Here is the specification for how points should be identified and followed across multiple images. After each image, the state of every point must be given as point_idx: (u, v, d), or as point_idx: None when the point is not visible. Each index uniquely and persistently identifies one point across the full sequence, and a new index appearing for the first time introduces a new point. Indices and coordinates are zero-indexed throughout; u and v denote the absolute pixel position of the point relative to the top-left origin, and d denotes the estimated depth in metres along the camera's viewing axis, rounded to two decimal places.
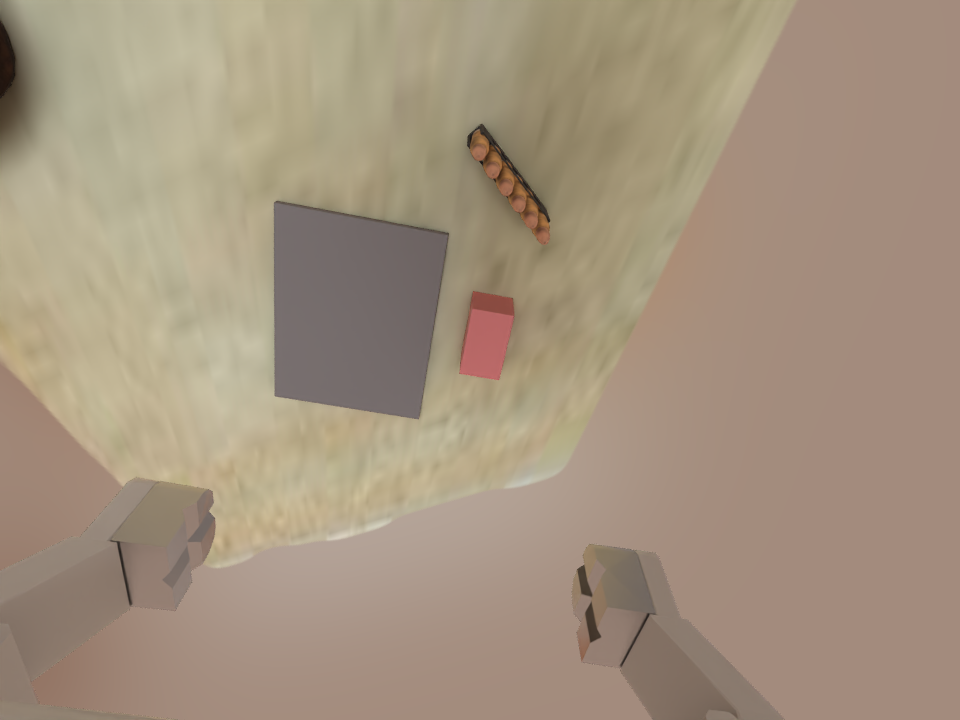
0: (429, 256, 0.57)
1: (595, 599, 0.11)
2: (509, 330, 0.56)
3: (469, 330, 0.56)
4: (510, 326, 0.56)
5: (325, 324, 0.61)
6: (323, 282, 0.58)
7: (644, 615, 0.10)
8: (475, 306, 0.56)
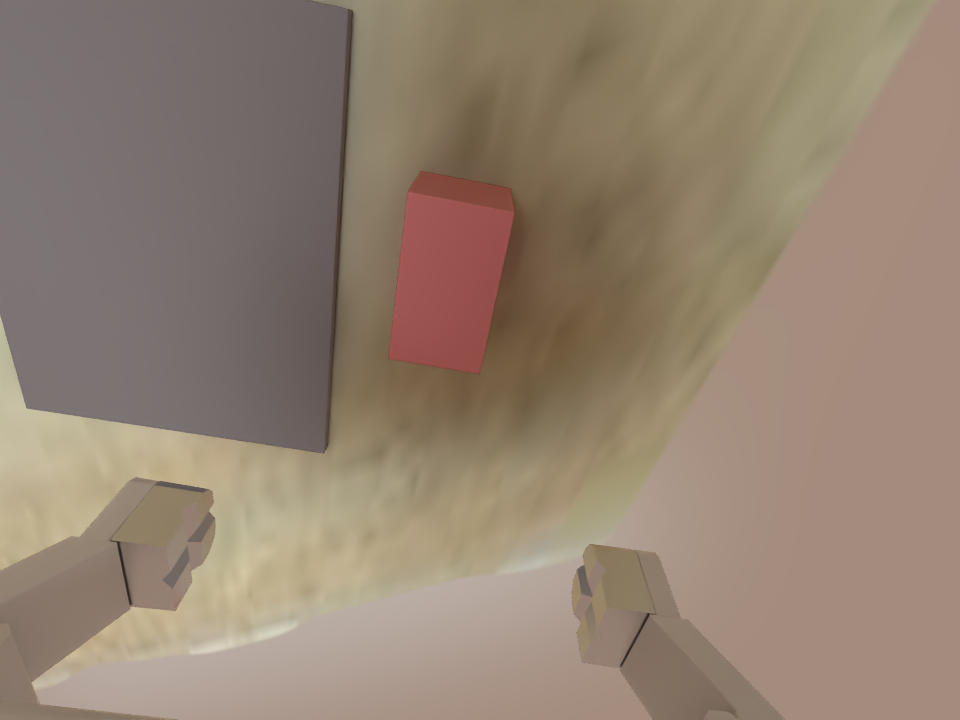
0: (307, 72, 0.23)
1: (595, 599, 0.11)
2: (502, 251, 0.23)
3: (404, 251, 0.23)
4: (505, 240, 0.23)
5: (94, 250, 0.27)
6: (66, 145, 0.25)
7: (644, 615, 0.10)
8: (417, 190, 0.22)
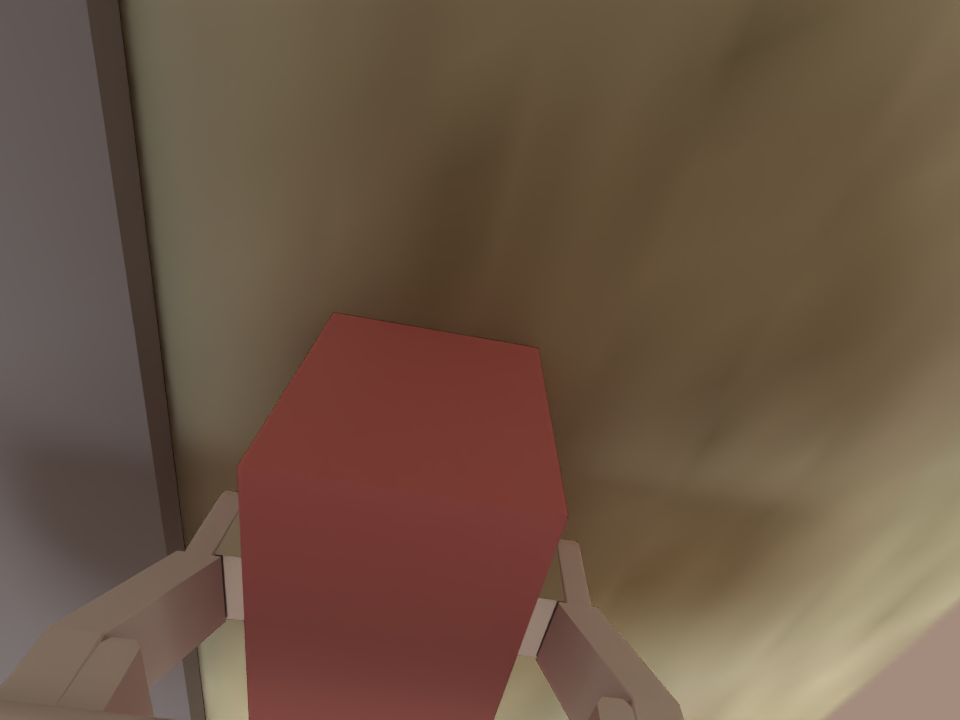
0: (1, 88, 0.09)
1: None
2: (529, 595, 0.08)
3: (254, 592, 0.08)
4: (536, 574, 0.08)
5: None
6: None
7: (554, 603, 0.10)
8: (277, 443, 0.08)
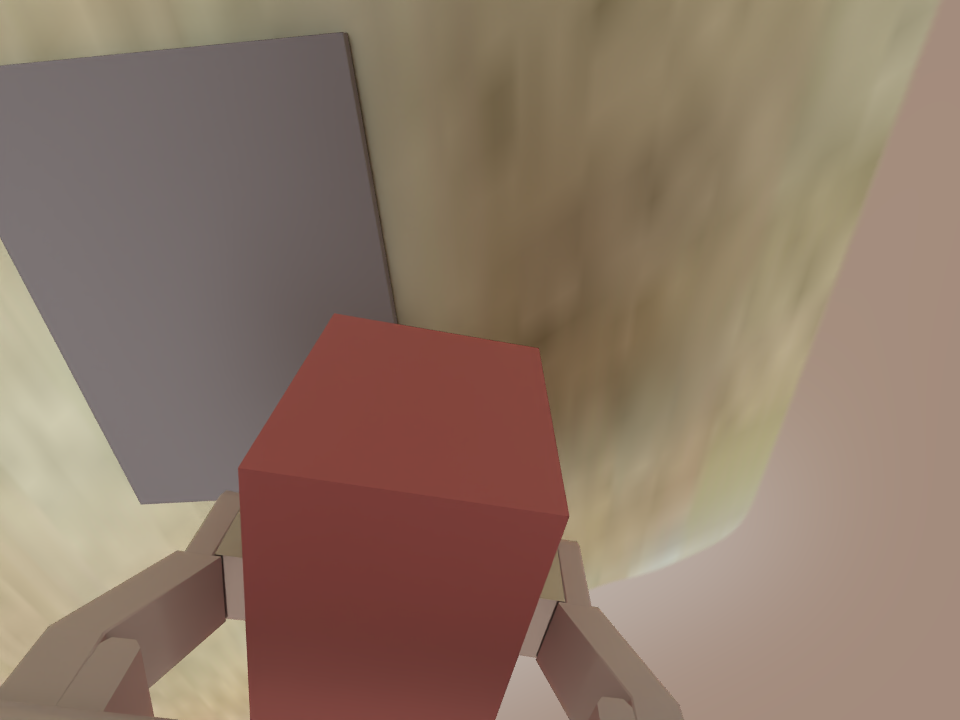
0: (318, 109, 0.22)
1: None
2: (530, 595, 0.08)
3: (255, 593, 0.08)
4: (537, 574, 0.08)
5: (164, 341, 0.28)
6: (116, 247, 0.25)
7: (554, 603, 0.10)
8: (278, 443, 0.08)
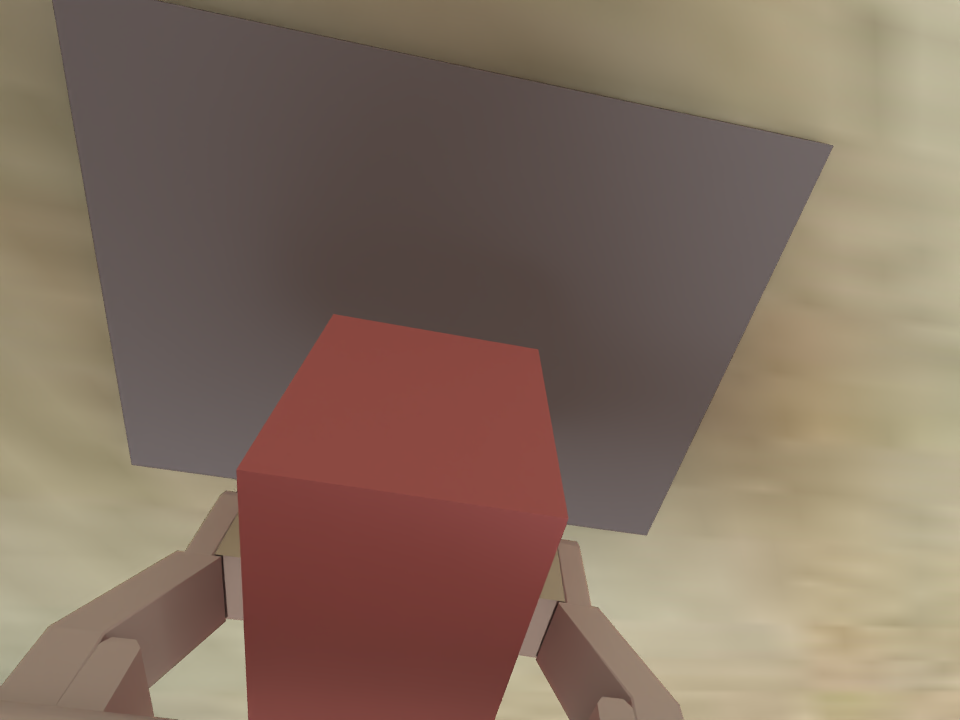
0: (152, 61, 0.16)
1: None
2: (529, 597, 0.08)
3: (253, 595, 0.08)
4: (537, 577, 0.08)
5: None
6: None
7: (554, 603, 0.10)
8: (277, 444, 0.08)
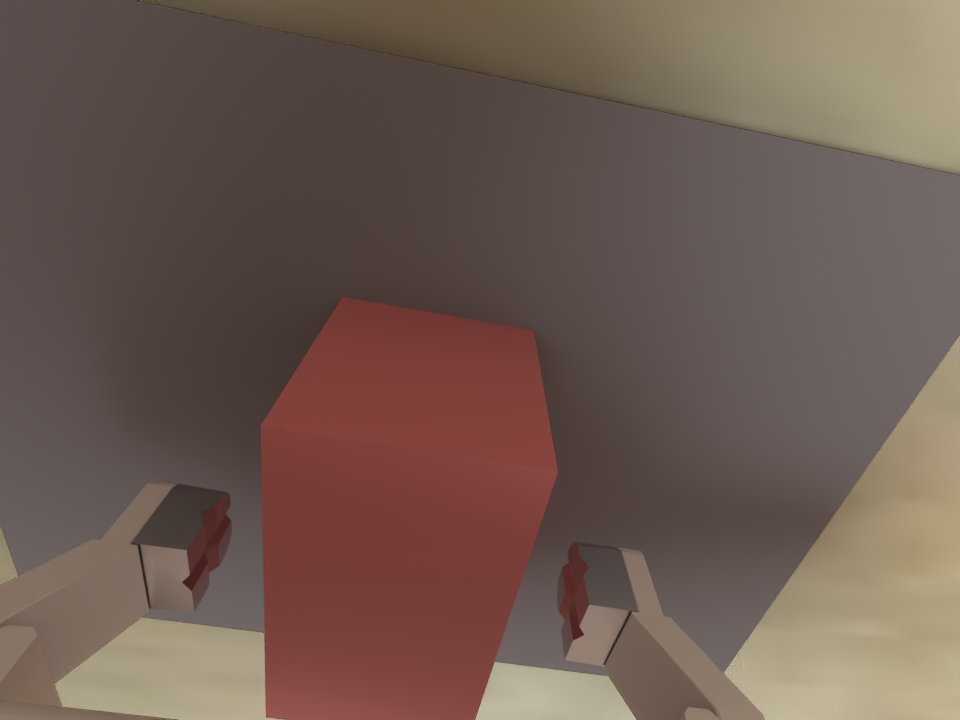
0: None
1: (578, 597, 0.10)
2: (523, 547, 0.09)
3: (273, 546, 0.09)
4: (530, 527, 0.09)
5: None
6: None
7: (626, 613, 0.10)
8: (296, 406, 0.08)
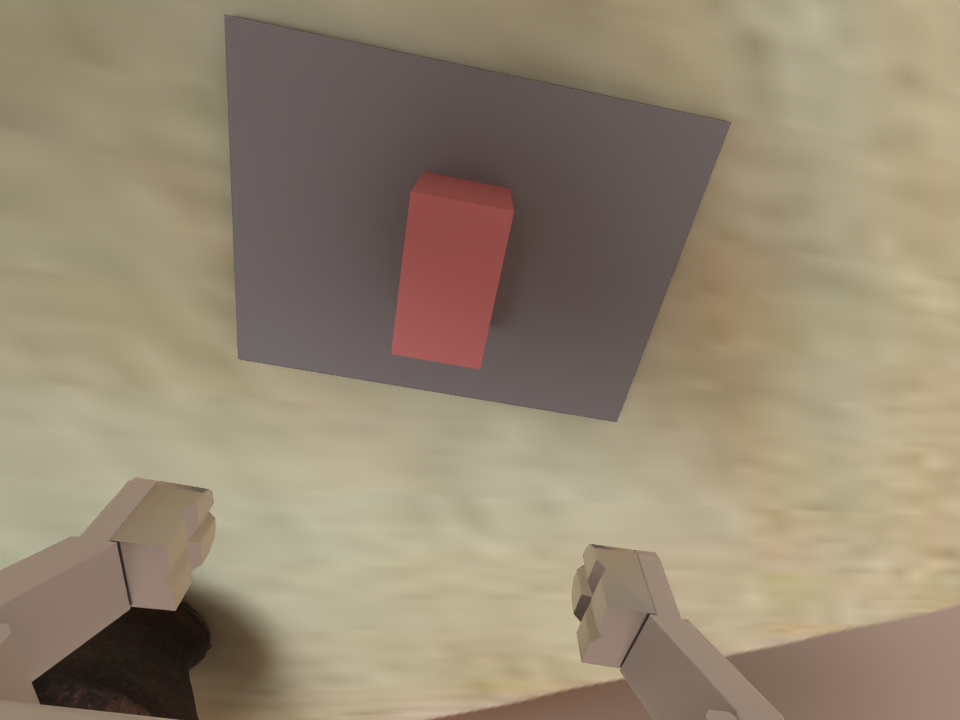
0: (284, 66, 0.25)
1: (595, 599, 0.11)
2: (502, 249, 0.24)
3: (407, 249, 0.24)
4: (504, 238, 0.23)
5: None
6: (372, 302, 0.30)
7: (644, 615, 0.10)
8: (419, 190, 0.23)
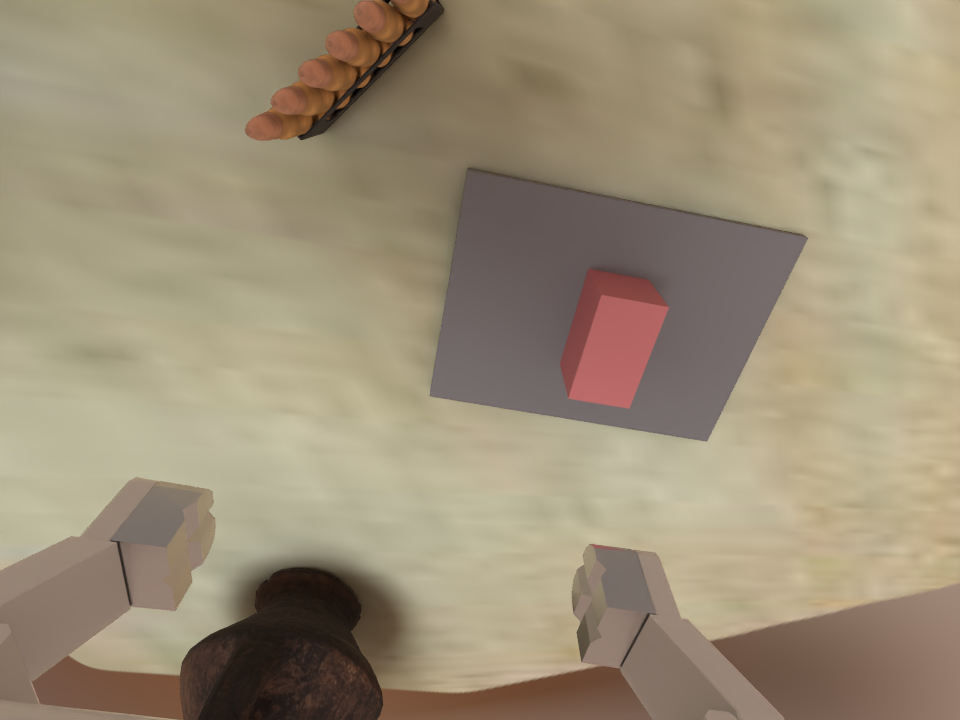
0: (502, 202, 0.36)
1: (595, 599, 0.11)
2: (657, 330, 0.35)
3: (592, 330, 0.35)
4: (660, 324, 0.35)
5: None
6: (537, 355, 0.42)
7: (644, 615, 0.10)
8: (604, 292, 0.34)
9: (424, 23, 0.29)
